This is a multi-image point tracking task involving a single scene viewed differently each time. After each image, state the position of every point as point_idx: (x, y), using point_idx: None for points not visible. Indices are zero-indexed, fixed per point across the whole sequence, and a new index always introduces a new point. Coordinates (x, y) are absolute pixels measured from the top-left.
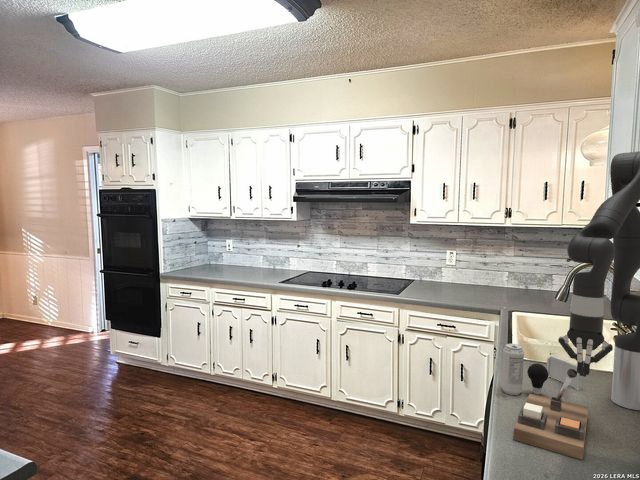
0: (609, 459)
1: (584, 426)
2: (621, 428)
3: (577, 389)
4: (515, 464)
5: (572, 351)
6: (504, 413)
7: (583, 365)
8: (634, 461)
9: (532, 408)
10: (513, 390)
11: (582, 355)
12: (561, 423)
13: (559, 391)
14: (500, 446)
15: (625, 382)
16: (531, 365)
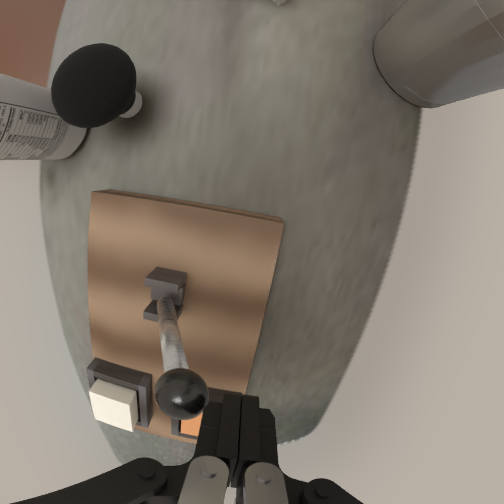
0: (283, 414)
1: (245, 376)
2: (362, 256)
3: (278, 3)
4: (136, 454)
5: (137, 497)
6: (66, 296)
7: (237, 437)
8: (330, 402)
9: (111, 417)
10: (59, 158)
11: (220, 499)
12: (183, 431)
13: (158, 322)
14: (103, 422)
15: (447, 73)
16: (52, 86)
